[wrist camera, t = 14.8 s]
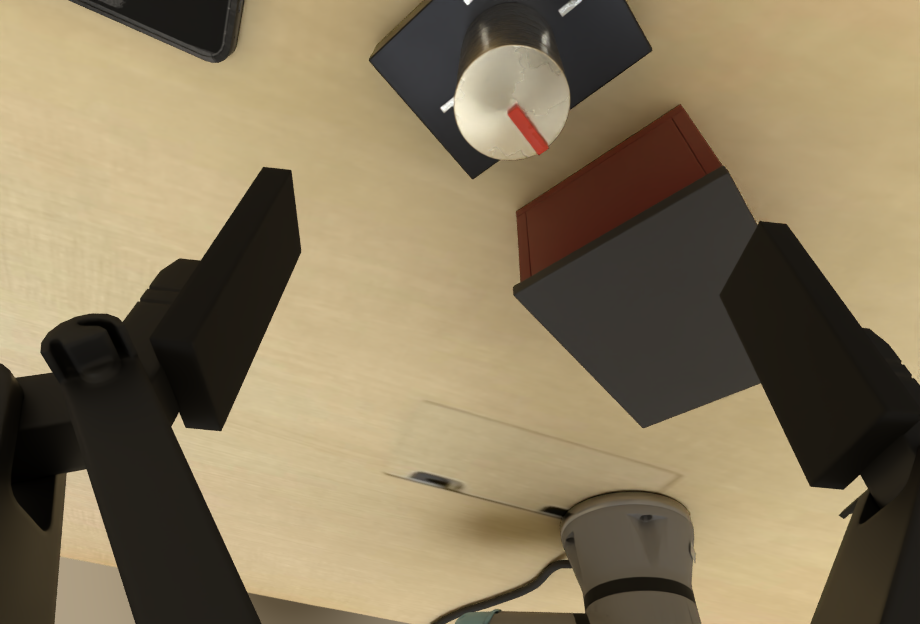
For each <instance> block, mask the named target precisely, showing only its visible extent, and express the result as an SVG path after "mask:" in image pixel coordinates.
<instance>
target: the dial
mask: <svg viewBox="0 0 920 624" xmlns="http://www.w3.org/2000/svg"><path fill="white" fill-rule="evenodd" d="M569 109H570V90H569V85H568V82H567V78H566V75H565V71H564V68H563V64H562V61H561V58H560V54H559V51H558V47H557V44H556V40H555V37H554V34H553V31H552V29H551V27H550V25H549V24H548V22H547V21H546V20H545V18H544V17H543V16H542V15H541V14H540V13H538V12H537V11H536V10H534V9H532V8H530V7H529V6H526V5H523V4H518V3H503V4H499V5H495V6H493V7H490V8H489V9H487V10H485V11H484V12H482V13H481V14H480V15H479V16H478V17H477V18H476V19H475V20H474V21H473V22H472V23H471V25H470V26H469V28H468V30H467V31H466V34H465V36H464V39H463V42H462V47H461V54H460V61H459V68H458V75H457V81H456V88H455V95H454V115H455V119H456V123H457V125H458V128H459V130H460V132H461V134H462V135H463V137H464V138H465V139H466V141H467V142H468V143H469V144H470V145H471V146H472V147H473V148H475V149H476V150H477V151H479V152H480V153H482V154H484V155H486V156H488V157H491V158H494V159H499V160H508V161H511V160H520V159H525V158H528V157H531V156H533V155H535V154H538V155H540V154H541V153H543V152H544V151H546V150H547V149H549V147H548V146H549V145H550V144H551V143H552V142H553V141H554V140H555V139H556V138H557V137H558V135H559V134H560V132H561V131H562V129H563V127H564V125H565V123H566V121H567V118H568V114H569Z"/></svg>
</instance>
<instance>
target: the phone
mask: <svg viewBox="0 0 920 624" xmlns="http://www.w3.org/2000/svg"><path fill="white" fill-rule="evenodd" d="M69 1H71V2H74V3H76V4H78V5H80V6H83V7H85V8H87V9H89V10H92V11H94V12H96V13H99V14H101V15H103V16H105V17H108V18H110V19H112V20H114V21H117V22H119V23H121V24H123V25H126V26H128V27H130V28H133V29H135V30H137V31H139V32H142V33H144V34H146V35H148V36H151V37H153V38H155V39H157V40H160V41H162V42H164V43H166V44H169V45H171V46H173V47H176V48H178V49H180V50H182V51H185V52H187V53H189V54H191V55H194V56H196V57H198V58H200V59H203V60H205V61H208V62H211V63H219V62H221V61H223V60H225V59H226V58H227V57H228V56H229V55H231V54H232V53H233V51H234V50H235V48H236V45H237V40H238V34H239V28H240V22H241V16H242V10H243V3H244V0H69Z"/></svg>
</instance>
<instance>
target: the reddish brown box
mask: <svg viewBox="0 0 920 624" xmlns="http://www.w3.org/2000/svg"><path fill="white" fill-rule="evenodd" d="M721 166H722V164H721V163H720V161H719V160H718V158H717V157H716V155H715V154H714V152H713V151H712V149H711V148H710V146H709V145H708V143H707V142H706V141H705V139H704V138H703V136H702V135H701V133H700V132H699V130H698V129H697V127H696V126H695V124H694V123H693V121H692V120H691V118H690V117H689V115H688V114H687V113H686V111H685V110H684V108H683V107H682V105H681V104H680V105H678V106H677V107H675V108H674V109H672V110H671V111H669V112H668V113H666V114H665V115H663V116H662V117H660V118H659V119H657V120H656V121H654V122H652V123H651V124H649V125H648V126H646V127H645V128H643V129H642V130H640V131H639V132H637V133H636V134H634V135H633V136H631V137H629V138H628V139H626V140H625V141H623V142H622V143H620V144H619V145H617V146H616V147H614V148H613V149H611V150H610V151H608V152H607V153H605V154H603V155H602V156H600V157H599V158H597V159H596V160H594V161H593V162H591V163H590V164H588V165H587V166H585V167H584V168H582V169H581V170H579V171H577V172H576V173H574V174H573V175H571V176H570V177H568V178H567V179H565V180H564V181H562V182H561V183H559V184H558V185H556V186H554V187H553V188H551V189H550V190H548V191H547V192H545V193H544V194H542V195H541V196H539V197H538V198H536V199H535V200H533V201H532V202H530V203H528V204H527V205H525V206H524V207H522V208H521V209H519V210H518V211H516V217H517V231H518V248H519V265H520V282H522V281H524V280H525V279H527V278H529V277H531V276H532V275H534V274H536V273H538V272H539V271H541V270H543V269H544V268H546V267H548V266H550V265H551V264H553V263H555V262H557V261H558V260H560V259H562V258H563V257H565V256H567V255H569V254H570V253H572V252H574V251H576V250H577V249H579V248H581V247H582V246H584V245H586V244H588V243H589V242H591V241H593V240H595V239H596V238H598V237H600V236H601V235H603V234H605V233H607V232H608V231H610V230H612V229H614V228H615V227H617V226H619V225H620V224H622V223H624V222H626V221H627V220H629V219H631V218H633V217H634V216H636V215H638V214H639V213H641V212H643V211H645V210H646V209H648V208H650V207H652V206H653V205H655V204H657V203H658V202H660V201H662V200H664V199H665V198H667V197H669V196H671V195H672V194H674V193H676V192H677V191H679V190H681V189H683V188H684V187H686V186H688V185H690V184H691V183H693V182H695V181H696V180H698V179H700V178H702V177H703V176H705V175H707V174H709V173H710V172H712V171H714V170H715V169H717V168H719V167H721Z"/></svg>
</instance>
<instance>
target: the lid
mask: <svg viewBox="0 0 920 624" xmlns="http://www.w3.org/2000/svg"><path fill="white" fill-rule="evenodd" d="M757 226H758V225H757V224H756V222H755V220H754V218H753V216H752V214H751V212H750V211H749V209H748V207H747V205H746V203H745V201H744V200H743V198H742V196H741V194H740V192H739V190H738V188H737V187H736V185H735V183H734V181H733V179H732V177H731V175H730V174H729V172H728V171H727V169H726V168H725V166H721V167H719V168H717V169H715V170H714V171H712V172H710V173H709V174H707V175H705V176H703V177H702V178H700V179H698V180H696V181H695V182H693V183H691V184H690V185H688V186H686V187H684V188H683V189H681V190H679V191H677V192H676V193H674V194H672V195H671V196H669V197H667V198H665V199H664V200H662V201H660V202H658V203H657V204H655V205H653V206H652V207H650V208H648V209H646V210H645V211H643V212H641V213H639V214H638V215H636V216H634V217H633V218H631V219H629V220H627V221H626V222H624V223H622V224H620V225H619V226H617V227H615V228H614V229H612V230H610V231H608V232H607V233H605V234H603V235H601V236H600V237H598V238H596V239H595V240H593V241H591V242H589V243H588V244H586V245H584V246H582V247H581V248H579V249H577V250H576V251H574V252H572V253H570V254H569V255H567V256H565V257H563V258H562V259H560V260H558V261H557V262H555V263H553V264H551V265H550V266H548V267H546V268H544V269H543V270H541V271H539V272H538V273H536V274H534V275H532V276H531V277H529V278H527V279H525V280H524V281H522V282H520V283H519V284H517V285H515V286H514V287H513V295H514V296H515V297H516V298H517V299H518V300H519V301H520V303H521V304H522V305H523V306H524V307H525V308H526V309H527V310H528V311H529V312H530V313H531V314H532V315H533V316H534V317H535V318H536V319H537V320H538V321H539V322H540V323H541V324H542V325H543V326H544V327H545V328H546V329H547V330H548V331H549V332H550V333H551V334H552V335H553V336H554V337H555V338H556V339H557V341H558V342H559V343H560V344H561V345H562V346H563V347H564V348H565V349H566V350H567V351H568V352H569V353H570V354H571V355H572V356H573V357H574V358H575V359H576V360H577V361H578V362H579V363H580V364H581V365H582V366H583V367H584V368H585V369H586V370H587V371H588V372H589V373H590V374H591V375H592V376H593V377H594V379H595V380H596V381H597V382H598V383H599V384H600V385H601V386H602V387H603V388H604V389H605V390H606V391H607V392H608V393H609V394H610V395H611V396H612V397H613V398H614V399H615V400H616V401H617V402H618V403H619V404H620V405H621V406H622V407H623V408H624V409H625V410H626V411H627V412H628V413H629V414H630V415H631V417H632V418H633V419H634V420H635V421H636V422H637V423H638V424H639V425H640V426H641V427H642V428H646V427H648V426H651V425H653V424H656V423H659V422H661V421H664V420H666V419H669V418H672V417H674V416H677V415H680V414H682V413H685V412H687V411H690V410H693V409H695V408H698V407H700V406H703V405H706V404H708V403H711V402H713V401H716V400H719V399H721V398H724V397H726V396H729V395H732V394H734V393H737V392H739V391H742V390H745V389H747V388H750V387H752V386H755V385H758V384H760V383H761V382H760V380H759V378H758V376H757V374H756V372H755V370H754V367H753V365H752V363H751V361H750V359H749V357H748V355H747V353H746V351H745V349H744V346H743V344H742V342H741V340H740V338H739V336H738V334H737V332H736V330H735V328H734V325H733V323H732V321H731V319H730V317H729V315H728V313H727V311H726V309H725V307H724V305H723V302H722V300H721V298H720V296H719V295H720V293H721V291H722V289H723V287H724V286H725V284H726V282H727V280H728V278H729V277H730V275H731V273H732V271H733V269H734V267H735V266H736V264H737V262H738V260H739V258H740V257H741V255H742V253H743V251H744V249H745V247H746V246H747V244H748V242H749V240H750V238H751V237H752V235H753V233H754V231H755V229H756V227H757Z"/></svg>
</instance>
